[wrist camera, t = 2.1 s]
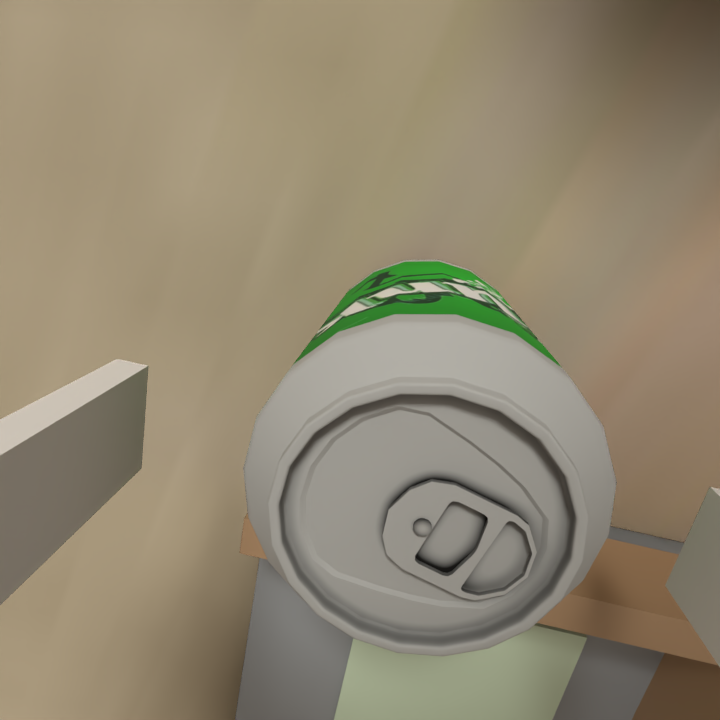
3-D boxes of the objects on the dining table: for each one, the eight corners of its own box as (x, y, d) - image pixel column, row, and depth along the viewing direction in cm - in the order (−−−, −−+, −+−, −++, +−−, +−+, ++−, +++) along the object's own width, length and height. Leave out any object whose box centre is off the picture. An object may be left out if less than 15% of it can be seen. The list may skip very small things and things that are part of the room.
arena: (280, 452, 23) (244, 518, 18) (732, 553, 22) (819, 651, 17) (232, 759, 29) (196, 868, 24) (582, 848, 28) (615, 979, 24)
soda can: (456, 462, 22) (497, 742, 11) (300, 384, 22) (171, 588, 10) (553, 309, 20) (736, 462, 8) (378, 220, 19) (323, 253, 8)
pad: (366, 582, 23) (365, 585, 23) (586, 634, 23) (587, 638, 23) (329, 736, 26) (329, 740, 26) (521, 784, 26) (522, 788, 26)
